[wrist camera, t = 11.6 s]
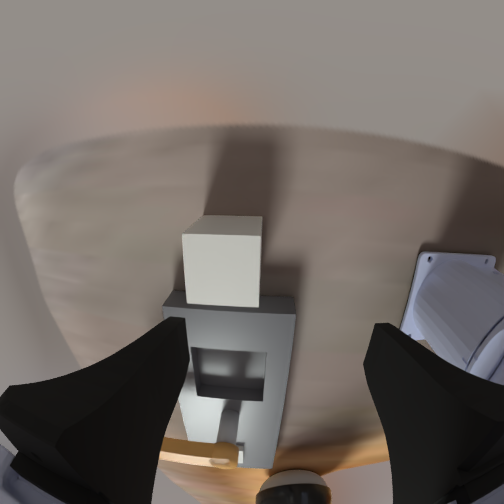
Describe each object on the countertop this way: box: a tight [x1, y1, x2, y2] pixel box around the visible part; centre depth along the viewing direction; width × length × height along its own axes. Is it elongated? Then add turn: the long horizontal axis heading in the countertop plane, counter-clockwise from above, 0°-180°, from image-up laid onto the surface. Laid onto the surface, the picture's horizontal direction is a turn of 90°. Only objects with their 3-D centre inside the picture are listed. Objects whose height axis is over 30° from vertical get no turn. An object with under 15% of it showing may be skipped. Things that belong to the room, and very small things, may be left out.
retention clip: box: [159, 437, 239, 469], centre depth 17 cm, size 2×9×2 cm, turn 93°
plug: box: [182, 215, 263, 307], centre depth 17 cm, size 4×4×5 cm
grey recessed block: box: [162, 290, 296, 469], centre depth 21 cm, size 9×22×6 cm, turn 179°
